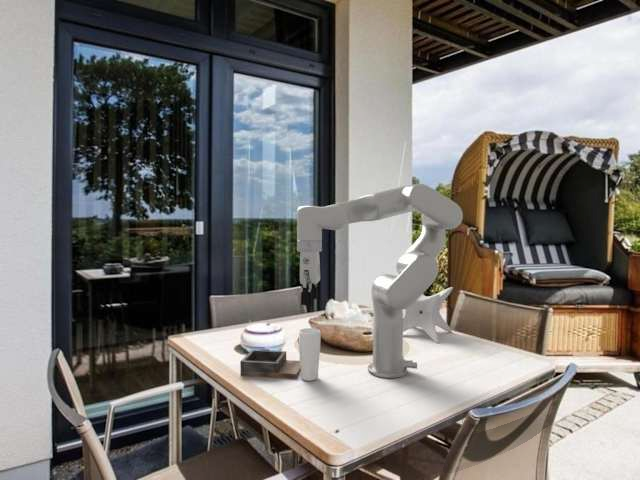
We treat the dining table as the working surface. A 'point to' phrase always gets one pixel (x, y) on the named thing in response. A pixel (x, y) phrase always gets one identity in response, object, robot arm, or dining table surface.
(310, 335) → the white cup
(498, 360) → the dining table surface
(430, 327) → the grey spiky star shape
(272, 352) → the open box
